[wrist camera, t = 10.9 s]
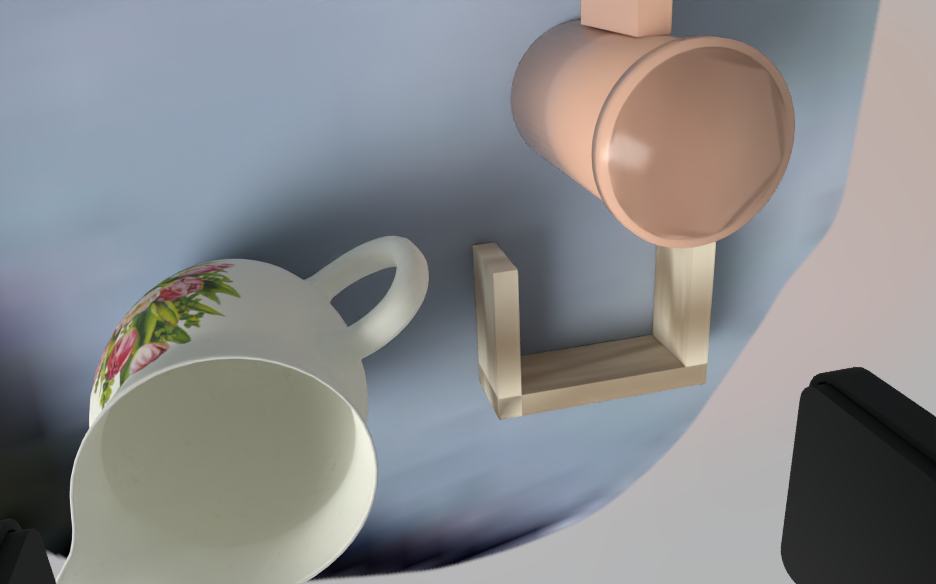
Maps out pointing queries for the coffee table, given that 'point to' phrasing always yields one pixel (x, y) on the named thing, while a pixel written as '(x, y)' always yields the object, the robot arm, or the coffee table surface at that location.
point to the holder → (598, 365)
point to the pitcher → (235, 425)
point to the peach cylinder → (656, 120)
